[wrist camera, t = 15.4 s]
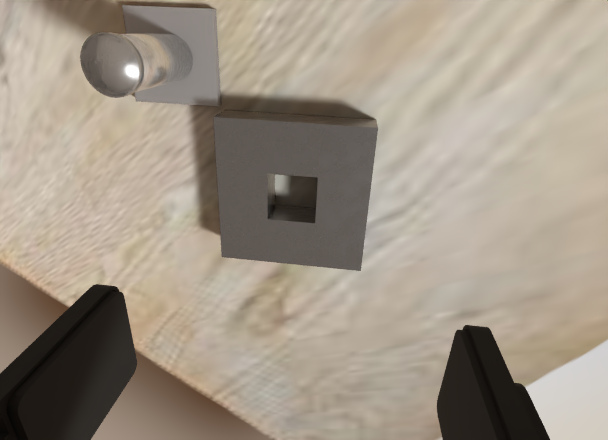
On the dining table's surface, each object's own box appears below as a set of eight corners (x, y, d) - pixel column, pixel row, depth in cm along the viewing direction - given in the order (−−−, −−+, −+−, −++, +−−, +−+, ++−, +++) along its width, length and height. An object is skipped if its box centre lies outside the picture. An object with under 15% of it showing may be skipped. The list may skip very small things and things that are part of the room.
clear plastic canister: (146, 31, 39) (74, 30, 29) (191, 33, 38) (133, 33, 28) (153, 80, 41) (87, 95, 31) (195, 83, 40) (143, 99, 30)
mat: (127, 5, 39) (122, 5, 38) (215, 9, 38) (212, 8, 37) (140, 99, 43) (135, 101, 42) (220, 104, 42) (217, 106, 41)
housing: (225, 109, 42) (213, 117, 38) (376, 119, 40) (377, 127, 37) (231, 240, 49) (221, 256, 45) (360, 252, 47) (360, 270, 44)
